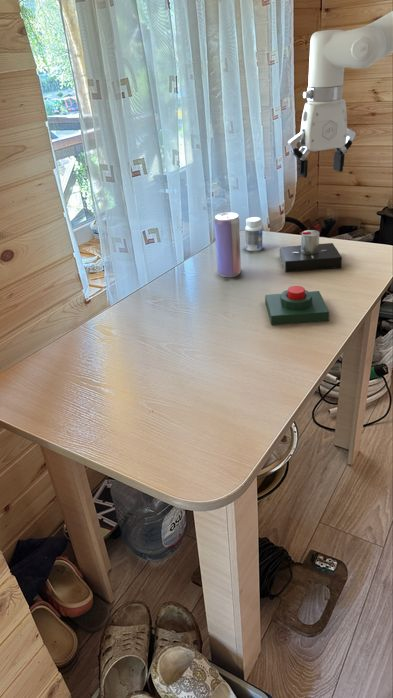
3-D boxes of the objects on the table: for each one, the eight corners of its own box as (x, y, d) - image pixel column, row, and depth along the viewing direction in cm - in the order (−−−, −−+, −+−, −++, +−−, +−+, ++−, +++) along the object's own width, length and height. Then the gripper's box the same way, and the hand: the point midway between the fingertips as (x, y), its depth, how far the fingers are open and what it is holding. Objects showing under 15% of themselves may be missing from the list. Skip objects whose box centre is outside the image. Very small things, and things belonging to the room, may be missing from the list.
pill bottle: (262, 251, 142) (261, 221, 138) (245, 251, 143) (244, 222, 139) (262, 245, 146) (262, 216, 142) (246, 245, 147) (245, 216, 143)
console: (331, 253, 137) (332, 242, 136) (341, 268, 129) (342, 256, 127) (279, 257, 138) (279, 246, 136) (285, 272, 129) (285, 260, 128)
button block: (318, 299, 116) (319, 283, 114) (328, 321, 107) (329, 304, 105) (265, 303, 116) (265, 287, 114) (271, 325, 108) (271, 308, 105)
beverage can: (222, 280, 128) (218, 221, 121) (214, 271, 133) (211, 214, 125) (244, 275, 130) (242, 217, 122) (236, 267, 135) (234, 210, 127)
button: (303, 292, 111) (303, 285, 110) (306, 300, 108) (306, 292, 107) (286, 293, 111) (286, 286, 110) (289, 301, 108) (289, 293, 107)
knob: (316, 247, 134) (317, 228, 131) (320, 254, 130) (321, 234, 127) (299, 249, 134) (300, 229, 131) (302, 255, 130) (303, 235, 127)
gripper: (298, 100, 110) (295, 182, 119) (368, 92, 114) (360, 171, 123) (282, 97, 116) (280, 175, 125) (348, 89, 120) (342, 165, 129)
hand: (320, 173), depth 124 cm, fingers open, 9 cm apart
